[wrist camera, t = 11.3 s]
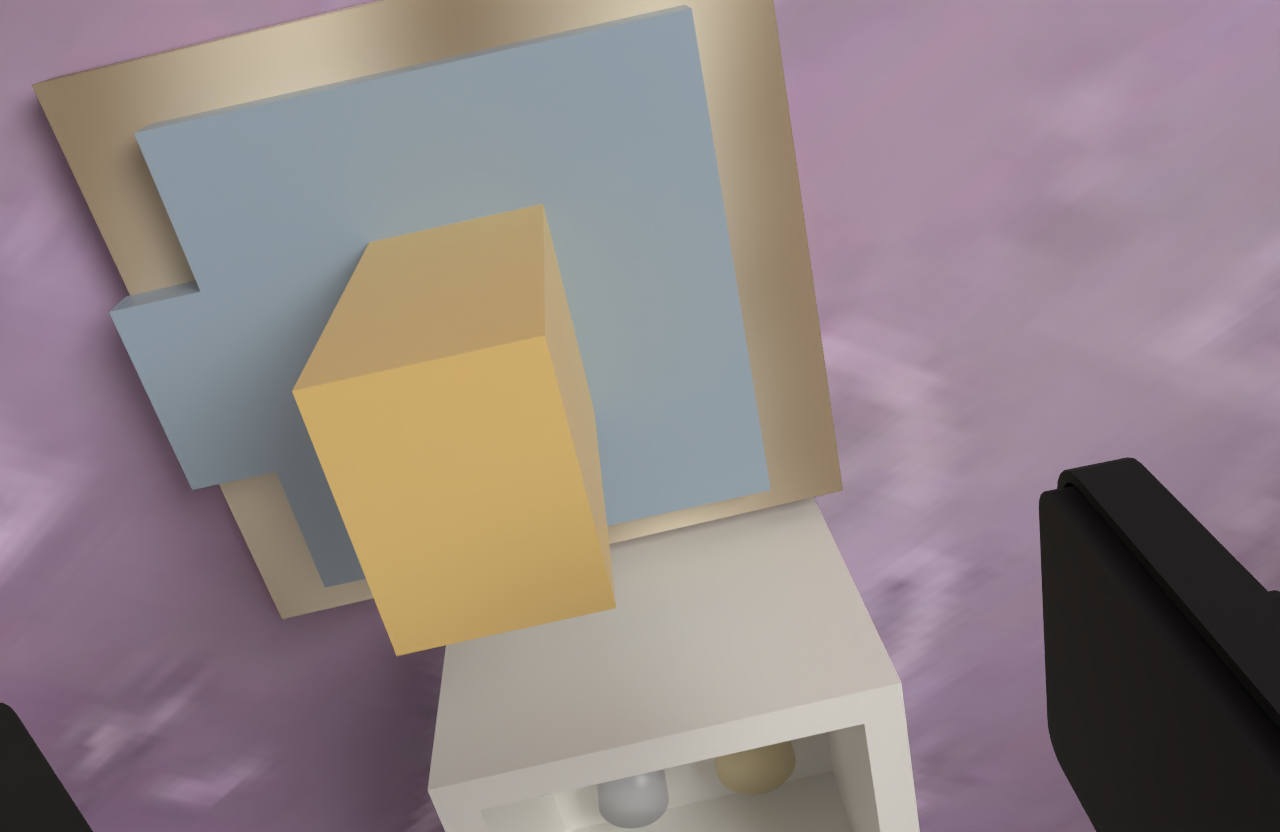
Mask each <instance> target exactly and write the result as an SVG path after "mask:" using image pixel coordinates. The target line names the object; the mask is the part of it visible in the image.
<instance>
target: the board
mask: <svg viewBox="0 0 1280 832" xmlns="http://www.w3.org/2000/svg"><path fill="white" fill-rule="evenodd" d="M681 5H687V6H688V7H690V8H692V13H693V19H694V26H695V32H696V38H697V44H698V50H699V56H700V62H701V68H702V74H703V80H704V86H705V93H706V99H707V105H708V111H709V117H710V123H711V129H712V135H713V141H714V147H715V153H716V159H717V166H718V172H719V178H720V184H721V190H722V196H723V202H724V208H725V214H726V220H727V226H728V233H729V239H730V245H731V251H732V257H733V263H734V269H735V275H736V281H737V287H738V293H739V299H740V306H741V312H742V318H743V324H744V330H745V336H746V342H747V348H748V354H749V360H750V366H751V373H752V379H753V385H754V391H755V397H756V403H757V409H758V415H759V421H760V427H761V433H762V439H763V446H764V452H765V458H766V464H767V470H768V476H769V482H770V488H771V490H769V491H764V492H760V493H755V494H751V495H746V496H742V497H737V498H732V499H728V500H723V501H719V502H714V503H710V504H705V505H700V506H696V507H691V508H687V509H682V510H678V511H673V512H668V513H664V514H659V515H655V516H650V517H646V518H641V519H637V520H632V521H627V522H623V523H618V524H614V525H609V526H607V529H608V538H609V544H612V543H616V542H621V541H625V540H629V539H634V538H638V537H642V536H647V535H651V534H655V533H660V532H664V531H668V530H673V529H677V528H681V527H686V526H690V525H695V524H699V523H703V522H708V521H712V520H716V519H721V518H725V517H729V516H734V515H738V514H742V513H747V512H751V511H755V510H760V509H764V508H768V507H773V506H777V505H782V504H786V503H790V502H795V501H799V500H803V499H808V498H812V497H816V496H821V495H825V494H829V493H834V492H838V491H842V490H843V488H842V481H841V474H840V467H839V460H838V452H837V445H836V438H835V431H834V424H833V417H832V410H831V403H830V396H829V389H828V382H827V375H826V368H825V361H824V354H823V347H822V340H821V332H820V325H819V318H818V311H817V304H816V297H815V290H814V283H813V276H812V269H811V262H810V255H809V248H808V241H807V234H806V227H805V220H804V213H803V205H802V198H801V191H800V184H799V177H798V170H797V163H796V156H795V149H794V142H793V135H792V128H791V121H790V114H789V107H788V100H787V93H786V86H785V78H784V71H783V64H782V57H781V50H780V43H779V36H778V29H777V22H776V15H775V8H774V1H773V0H378V1H374V2H370V3H365V4H361V5H357V6H353V7H349V8H344V9H340V10H336V11H332V12H328V13H323V14H319V15H315V16H311V17H307V18H303V19H298V20H294V21H290V22H286V23H282V24H277V25H273V26H269V27H265V28H261V29H256V30H252V31H248V32H244V33H240V34H235V35H231V36H227V37H223V38H219V39H214V40H210V41H206V42H202V43H198V44H193V45H189V46H185V47H181V48H177V49H173V50H168V51H164V52H160V53H156V54H152V55H147V56H143V57H139V58H135V59H131V60H126V61H122V62H118V63H114V64H110V65H105V66H101V67H97V68H93V69H89V70H84V71H80V72H76V73H72V74H68V75H63V76H59V77H55V78H51V79H48V80H46V81H43V82H40V83H37V84H34V85H32V87H33V89H34V91H35V93H36V95H37V98H38V100H39V102H40V104H41V106H42V108H43V110H44V113H45V115H46V117H47V119H48V121H49V123H50V125H51V127H52V130H53V132H54V134H55V136H56V138H57V140H58V142H59V145H60V147H61V149H62V151H63V153H64V155H65V157H66V159H67V162H68V164H69V166H70V168H71V170H72V172H73V174H74V177H75V179H76V181H77V183H78V185H79V187H80V189H81V191H82V194H83V196H84V198H85V200H86V202H87V204H88V206H89V209H90V211H91V213H92V215H93V217H94V219H95V221H96V223H97V226H98V228H99V230H100V232H101V234H102V236H103V238H104V241H105V243H106V245H107V247H108V249H109V251H110V253H111V255H112V258H113V260H114V262H115V264H116V266H117V268H118V270H119V273H120V275H121V277H122V279H123V281H124V283H125V285H126V287H127V290H128V292H129V294H130V295H134V294H139V293H143V292H148V291H152V290H157V289H161V288H166V287H170V286H175V285H179V284H184V283H188V282H193V281H196V280H195V277H194V275H193V272H192V270H191V268H190V265H189V263H188V261H187V258H186V256H185V253H184V251H183V249H182V246H181V244H180V242H179V239H178V237H177V234H176V232H175V230H174V227H173V225H172V222H171V220H170V218H169V215H168V213H167V211H166V208H165V206H164V203H163V201H162V199H161V196H160V194H159V192H158V189H157V187H156V184H155V182H154V180H153V177H152V175H151V172H150V170H149V168H148V165H147V163H146V161H145V158H144V156H143V153H142V151H141V149H140V146H139V144H138V141H137V139H136V137H135V134H134V133H135V132H137V131H139V130H140V129H142V128H144V127H146V126H148V125H150V124H152V123H157V122H161V121H166V120H170V119H175V118H179V117H184V116H188V115H193V114H197V113H202V112H206V111H210V110H215V109H219V108H224V107H228V106H233V105H237V104H242V103H246V102H251V101H255V100H260V99H264V98H269V97H273V96H278V95H282V94H287V93H291V92H296V91H300V90H305V89H309V88H314V87H318V86H322V85H327V84H331V83H336V82H340V81H345V80H349V79H354V78H358V77H363V76H367V75H372V74H376V73H381V72H385V71H390V70H394V69H399V68H403V67H408V66H412V65H417V64H421V63H426V62H430V61H435V60H439V59H443V58H448V57H452V56H457V55H461V54H466V53H470V52H475V51H479V50H484V49H488V48H493V47H497V46H502V45H506V44H511V43H515V42H520V41H524V40H529V39H533V38H538V37H542V36H547V35H551V34H555V33H560V32H564V31H569V30H573V29H578V28H582V27H587V26H591V25H596V24H600V23H605V22H609V21H614V20H618V19H623V18H627V17H632V16H636V15H641V14H645V13H650V12H654V11H659V10H663V9H668V8H672V7H676V6H681ZM219 486H220V488H221V490H222V492H223V494H224V497H225V499H226V501H227V503H228V505H229V507H230V509H231V511H232V514H233V516H234V518H235V520H236V522H237V524H238V526H239V529H240V531H241V533H242V535H243V537H244V539H245V541H246V543H247V546H248V548H249V550H250V552H251V554H252V556H253V558H254V561H255V563H256V565H257V567H258V569H259V571H260V573H261V575H262V578H263V580H264V582H265V584H266V586H267V588H268V590H269V593H270V595H271V597H272V599H273V601H274V603H275V605H276V607H277V610H278V612H279V614H280V616H281V618H282V619H286V618H290V617H294V616H299V615H303V614H307V613H312V612H316V611H320V610H325V609H329V608H333V607H338V606H342V605H346V604H351V603H355V602H360V601H364V600H368V599H373V598H374V597H373V595H372V592H371V590H370V587H369V585H368V582H367V580H366V579H362V580H358V581H353V582H349V583H344V584H339V585H335V586H330V587H326V588H325V587H324V585H323V582H322V580H321V577H320V575H319V573H318V570H317V568H316V565H315V563H314V561H313V558H312V556H311V554H310V551H309V549H308V546H307V544H306V542H305V539H304V537H303V535H302V532H301V530H300V527H299V525H298V523H297V520H296V518H295V515H294V513H293V511H292V508H291V506H290V504H289V501H288V499H287V496H286V494H285V492H284V489H283V487H282V484H281V482H280V480H279V477H278V475H277V473H276V472H273V473H268V474H263V475H259V476H254V477H250V478H245V479H241V480H236V481H232V482H227V483H223V484H219Z"/></svg>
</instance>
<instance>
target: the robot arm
mask: <svg viewBox="0 0 1280 832" xmlns="http://www.w3.org/2000/svg"><path fill="white" fill-rule="evenodd" d="M1039 520H1040V545H1041V570H1042V594H1043V619H1044V643H1045V668H1046V693H1047V717H1048V728H1049V733H1050V738H1051V742H1052V745H1053V748H1054V751H1055V754H1056V756H1057V759H1058V761H1059V763H1060V765H1061V768H1062V769H1063V771H1064V773H1065V775H1066V777H1067V779H1068V780H1069V782H1070V784H1071V786H1072V788H1073V790H1074V791H1075V793H1076V795H1077V797H1078V799H1079V801H1080V802H1081V804H1082V806H1083V808H1084V810H1085V812H1086V813H1087V815H1088V817H1089V819H1090V821H1091V822H1092V824H1093V826H1094V828H1095V830H1096V832H1280V592H1279V591H1276V590H1274V591H1269V592H1268V591H1267V590H1266V589H1265V588H1264V587H1263V586H1262V585H1261V584H1260V583H1259V582H1258V581H1257V580H1256V579H1255V578H1254V577H1253V576H1252V575H1251V574H1250V573H1249V572H1248V571H1247V570H1246V569H1245V568H1244V567H1243V566H1242V565H1241V564H1240V563H1239V562H1238V561H1237V560H1236V559H1235V558H1234V557H1233V556H1232V555H1231V554H1230V553H1229V552H1228V551H1227V550H1226V549H1225V548H1224V547H1223V546H1222V545H1221V544H1220V543H1219V542H1218V541H1217V539H1216V538H1215V537H1214V536H1213V535H1212V534H1211V533H1210V532H1209V531H1208V530H1207V529H1206V528H1205V527H1204V526H1203V525H1202V524H1201V523H1200V522H1199V521H1198V520H1197V519H1196V518H1195V517H1194V516H1193V515H1192V514H1191V513H1190V512H1189V511H1188V510H1187V509H1186V508H1185V507H1184V506H1183V505H1182V504H1181V503H1180V502H1179V501H1178V500H1177V499H1176V498H1175V497H1174V496H1173V495H1172V494H1171V493H1170V492H1169V491H1168V490H1167V489H1166V488H1165V487H1164V486H1163V485H1162V484H1161V483H1160V482H1159V481H1158V480H1157V479H1156V478H1155V477H1154V476H1153V475H1152V474H1151V473H1150V472H1149V471H1148V470H1147V469H1146V468H1145V467H1144V466H1143V465H1142V464H1141V463H1140V462H1138V461H1137V460H1136V459H1134V458H1123V459H1118V460H1113V461H1108V462H1103V463H1098V464H1093V465H1088V466H1083V467H1078V468H1073V469H1068V470H1064V471H1063V472H1062V473H1061V474H1060V476H1059V480H1058V486H1057V489H1055V490H1050V491H1045V492H1043V493H1042V494H1041V496H1040V500H1039ZM0 832H93V831H92V830H91V828H90V826H89V825H88V823H87V822H86V820H85V819H84V817H83V816H82V814H81V813H80V811H79V810H78V808H77V806H76V805H75V803H74V802H73V800H72V799H71V797H70V796H69V794H68V793H67V791H66V789H65V788H64V786H63V785H62V783H61V782H60V780H59V779H58V777H57V776H56V774H55V773H54V771H53V769H52V768H51V766H50V765H49V763H48V762H47V760H46V759H45V757H44V756H43V754H42V752H41V751H40V749H39V748H38V746H37V745H36V743H35V742H34V740H33V739H32V737H31V736H30V734H29V732H28V731H27V729H26V728H25V726H24V725H23V723H22V722H21V720H20V719H19V717H18V716H17V714H16V713H15V712H14V710H13V709H12V708H11V707H10V706H8V705H6V704H4V703H0Z"/></svg>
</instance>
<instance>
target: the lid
mask: <svg viewBox="0 0 1280 832" xmlns="http://www.w3.org/2000/svg"><path fill="white" fill-rule="evenodd" d="M134 134H135V137H136V139H137V141H138V144H139V146H140V149H141V151H142V153H143V156H144V158H145V161H146V163H147V165H148V168H149V170H150V172H151V175H152V177H153V180H154V182H155V184H156V187H157V189H158V192H159V194H160V196H161V199H162V201H163V203H164V206H165V208H166V211H167V213H168V215H169V218H170V220H171V222H172V225H173V227H174V230H175V232H176V234H177V237H178V239H179V242H180V244H181V246H182V249H183V251H184V253H185V256H186V258H187V261H188V263H189V265H190V268H191V270H192V272H193V275H194V277H195V280H196V281H193V282H188V283H184V284H179V285H175V286H170V287H166V288H161V289H157V290H152V291H148V292H143V293H139V294H134V295H130V296H126V297H125V298H124V299H122V300H121V301H120V302H119V303H118V304H117V305H116V306H115V307H114V308H113V309H112V310H111V311H109V313H110V316H111V318H112V320H113V322H114V324H115V326H116V328H117V331H118V333H119V335H120V337H121V339H122V341H123V343H124V346H125V348H126V350H127V352H128V354H129V356H130V358H131V360H132V363H133V365H134V367H135V369H136V371H137V373H138V375H139V378H140V380H141V382H142V384H143V386H144V388H145V390H146V393H147V395H148V397H149V399H150V401H151V403H152V405H153V408H154V410H155V412H156V414H157V416H158V418H159V420H160V422H161V425H162V427H163V429H164V431H165V433H166V435H167V437H168V440H169V442H170V444H171V446H172V448H173V450H174V452H175V455H176V457H177V459H178V461H179V463H180V465H181V467H182V469H183V472H184V474H185V476H186V478H187V480H188V482H189V484H190V487H191V489H192V490H195V489H200V488H204V487H209V486H213V485H218V484H223V483H227V482H232V481H236V480H241V479H245V478H250V477H254V476H259V475H263V474H268V473H273V472H276V473H277V475H278V477H279V480H280V482H281V484H282V487H283V489H284V492H285V494H286V496H287V499H288V501H289V504H290V506H291V508H292V511H293V513H294V515H295V518H296V520H297V523H298V525H299V527H300V530H301V532H302V535H303V537H304V539H305V542H306V544H307V546H308V549H309V551H310V554H311V556H312V558H313V561H314V563H315V565H316V568H317V570H318V573H319V575H320V577H321V580H322V582H323V585H324V587H325V588H326V587H330V586H335V585H339V584H344V583H349V582H353V581H358V580H362V579H366V580H367V582H368V585H369V587H370V590H371V592H372V595H373V597H374V600H375V602H376V605H377V608H378V610H379V613H380V615H381V618H382V620H383V623H384V625H385V628H386V630H387V633H388V635H389V638H390V640H391V643H392V646H393V648H394V651H395V653H396V656H399V655H404V654H408V653H413V652H417V651H422V650H427V649H431V648H436V647H440V646H445V645H450V644H454V643H459V642H463V641H468V640H473V639H477V638H482V637H486V636H491V635H495V634H500V633H505V632H509V631H514V630H518V629H523V628H528V627H532V626H537V625H541V624H546V623H550V622H555V621H560V620H564V619H569V618H573V617H578V616H583V615H587V614H592V613H596V612H601V611H605V610H610V609H615V608H616V601H615V592H614V583H613V574H612V565H611V556H610V547H609V538H608V529H607V526H609V525H614V524H618V523H623V522H627V521H632V520H637V519H641V518H646V517H650V516H655V515H659V514H664V513H668V512H673V511H678V510H682V509H687V508H691V507H696V506H700V505H705V504H710V503H714V502H719V501H723V500H728V499H732V498H737V497H742V496H746V495H751V494H755V493H760V492H764V491H769V490H771V488H770V482H769V476H768V470H767V464H766V458H765V452H764V446H763V439H762V433H761V427H760V421H759V415H758V409H757V403H756V397H755V391H754V385H753V379H752V373H751V366H750V360H749V354H748V348H747V342H746V336H745V330H744V324H743V318H742V312H741V306H740V299H739V293H738V287H737V281H736V275H735V269H734V263H733V257H732V251H731V245H730V239H729V233H728V226H727V220H726V214H725V208H724V202H723V196H722V190H721V184H720V178H719V172H718V166H717V159H716V153H715V147H714V141H713V135H712V129H711V123H710V117H709V111H708V105H707V99H706V93H705V86H704V80H703V74H702V68H701V62H700V56H699V50H698V44H697V38H696V32H695V26H694V19H693V13H692V8H690V7H688V6H687V5H681V6H676V7H672V8H668V9H663V10H659V11H654V12H650V13H645V14H641V15H636V16H632V17H627V18H623V19H618V20H614V21H609V22H605V23H600V24H596V25H591V26H587V27H582V28H578V29H573V30H569V31H564V32H560V33H555V34H551V35H547V36H542V37H538V38H533V39H529V40H524V41H520V42H515V43H511V44H506V45H502V46H497V47H493V48H488V49H484V50H479V51H475V52H470V53H466V54H461V55H457V56H452V57H448V58H443V59H439V60H435V61H430V62H426V63H421V64H417V65H412V66H408V67H403V68H399V69H394V70H390V71H385V72H381V73H376V74H372V75H367V76H363V77H358V78H354V79H349V80H345V81H340V82H336V83H331V84H327V85H322V86H318V87H314V88H309V89H305V90H300V91H296V92H291V93H287V94H282V95H278V96H273V97H269V98H264V99H260V100H255V101H251V102H246V103H242V104H237V105H233V106H228V107H224V108H219V109H215V110H210V111H206V112H202V113H197V114H193V115H188V116H184V117H179V118H175V119H170V120H166V121H161V122H157V123H152V124H150V125H148V126H146V127H144V128H142V129H140V130H139V131H137V132H135V133H134Z"/></svg>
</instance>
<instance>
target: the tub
mask: <svg viewBox="0 0 1280 832" xmlns="http://www.w3.org/2000/svg"><path fill="white" fill-rule="evenodd" d="M609 547H610V556H611V565H612V574H613V583H614V592H615V601H616V608H615V609H610V610H605V611H601V612H596V613H592V614H587V615H583V616H578V617H573V618H569V619H564V620H560V621H555V622H550V623H546V624H541V625H537V626H532V627H528V628H523V629H518V630H514V631H509V632H505V633H500V634H495V635H491V636H486V637H482V638H477V639H473V640H468V641H463V642H459V643H454V644H450V645H446V649H445V657H444V665H443V673H442V681H441V688H440V696H439V704H438V712H437V720H436V728H435V736H434V743H433V751H432V759H431V767H430V775H429V783H428V793H429V795H430V797H431V800H432V802H433V804H434V807H435V809H436V811H437V814H438V816H439V818H440V821H441V823H442V825H443V828H444V830H445V832H920V830H919V822H918V814H917V806H916V797H915V789H914V781H913V773H912V765H911V757H910V749H909V741H908V733H907V725H906V716H905V708H904V700H903V692H902V684H901V681H900V679H899V677H898V675H897V673H896V670H895V668H894V666H893V664H892V662H891V660H890V658H889V656H888V654H887V651H886V649H885V647H884V645H883V643H882V641H881V639H880V637H879V634H878V632H877V630H876V628H875V626H874V624H873V622H872V620H871V618H870V615H869V613H868V611H867V609H866V607H865V605H864V603H863V601H862V598H861V596H860V594H859V592H858V590H857V588H856V586H855V584H854V582H853V579H852V577H851V575H850V573H849V571H848V569H847V567H846V565H845V562H844V560H843V558H842V556H841V554H840V552H839V550H838V548H837V546H836V543H835V541H834V539H833V537H832V535H831V533H830V531H829V529H828V526H827V524H826V522H825V520H824V518H823V516H822V514H821V512H820V510H819V507H818V505H817V503H816V501H815V499H814V497H812V498H808V499H803V500H799V501H795V502H790V503H786V504H782V505H777V506H773V507H768V508H764V509H760V510H755V511H751V512H747V513H742V514H738V515H734V516H729V517H725V518H721V519H716V520H712V521H708V522H703V523H699V524H695V525H690V526H686V527H681V528H677V529H673V530H668V531H664V532H660V533H655V534H651V535H647V536H642V537H638V538H634V539H629V540H625V541H621V542H616V543H612V544H609Z"/></svg>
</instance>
